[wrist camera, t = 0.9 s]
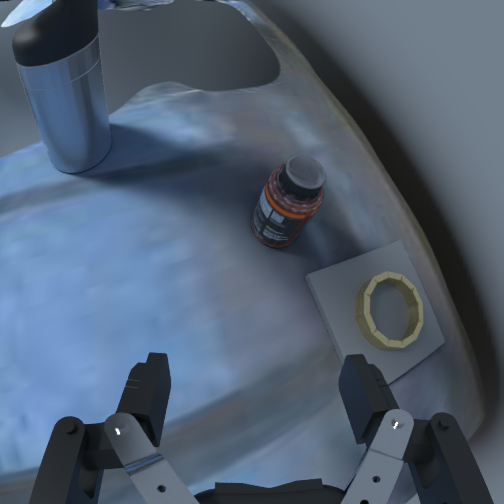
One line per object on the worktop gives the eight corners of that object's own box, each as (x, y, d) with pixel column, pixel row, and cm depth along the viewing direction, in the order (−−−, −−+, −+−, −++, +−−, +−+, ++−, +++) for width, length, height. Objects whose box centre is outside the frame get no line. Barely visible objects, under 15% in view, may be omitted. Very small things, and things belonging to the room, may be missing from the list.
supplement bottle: (296, 209, 40) (333, 153, 30) (298, 252, 38) (340, 203, 27) (250, 202, 39) (275, 141, 29) (248, 246, 36) (277, 192, 26)
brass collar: (343, 291, 36) (351, 286, 34) (395, 268, 39) (404, 263, 37) (373, 362, 33) (383, 360, 31) (422, 330, 36) (432, 327, 34)
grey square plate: (304, 276, 36) (307, 274, 36) (396, 242, 42) (400, 239, 41) (356, 401, 32) (361, 401, 31) (440, 343, 37) (445, 342, 36)
